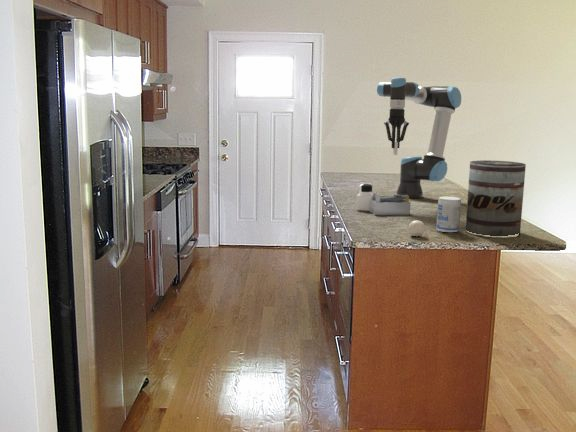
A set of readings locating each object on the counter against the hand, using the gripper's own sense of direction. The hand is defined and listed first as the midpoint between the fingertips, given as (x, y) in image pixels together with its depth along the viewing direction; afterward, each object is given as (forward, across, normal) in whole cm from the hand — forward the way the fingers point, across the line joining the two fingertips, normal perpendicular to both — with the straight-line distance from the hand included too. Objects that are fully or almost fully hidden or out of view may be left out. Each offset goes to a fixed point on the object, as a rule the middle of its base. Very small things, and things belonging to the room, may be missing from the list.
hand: (395, 154), depth 335 cm
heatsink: (+27, -7, -18) cm, 34 cm away
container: (+28, -17, -7) cm, 33 cm away
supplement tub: (+28, +6, -63) cm, 69 cm away
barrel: (+28, +25, -66) cm, 76 cm away
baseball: (+28, -11, -72) cm, 78 cm away
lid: (+21, -6, -18) cm, 28 cm away
